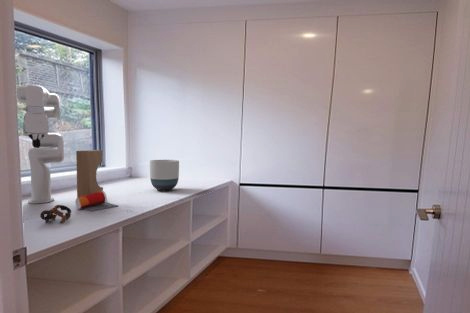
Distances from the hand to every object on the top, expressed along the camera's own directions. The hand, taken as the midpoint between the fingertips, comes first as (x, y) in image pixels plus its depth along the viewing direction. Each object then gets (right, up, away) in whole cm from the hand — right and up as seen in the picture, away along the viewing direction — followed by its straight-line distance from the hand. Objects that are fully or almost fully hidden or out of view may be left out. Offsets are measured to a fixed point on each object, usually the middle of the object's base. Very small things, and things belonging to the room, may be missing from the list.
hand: (36, 147), depth 149 cm
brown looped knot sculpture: (+19, -34, -16) cm, 42 cm away
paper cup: (+17, -29, +6) cm, 34 cm away
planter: (+48, -29, +67) cm, 87 cm away
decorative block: (+15, -31, +26) cm, 43 cm away
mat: (+25, -32, +13) cm, 42 cm away
